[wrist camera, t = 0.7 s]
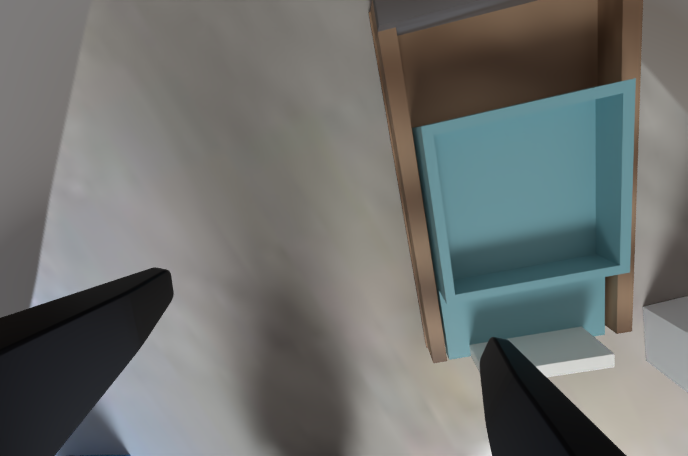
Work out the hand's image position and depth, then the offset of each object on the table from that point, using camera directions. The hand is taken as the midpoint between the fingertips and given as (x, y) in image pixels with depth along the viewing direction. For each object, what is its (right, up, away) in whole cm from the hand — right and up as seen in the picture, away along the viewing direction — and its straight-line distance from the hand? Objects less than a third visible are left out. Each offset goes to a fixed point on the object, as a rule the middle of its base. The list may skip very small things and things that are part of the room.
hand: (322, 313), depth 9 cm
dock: (+11, +5, +13) cm, 18 cm away
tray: (+12, +2, +13) cm, 18 cm away
